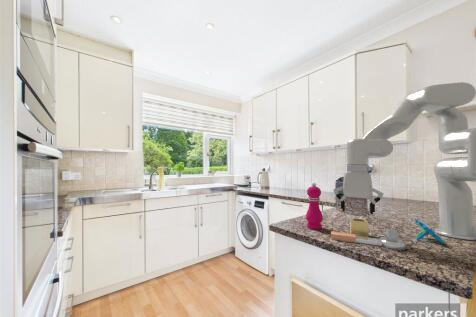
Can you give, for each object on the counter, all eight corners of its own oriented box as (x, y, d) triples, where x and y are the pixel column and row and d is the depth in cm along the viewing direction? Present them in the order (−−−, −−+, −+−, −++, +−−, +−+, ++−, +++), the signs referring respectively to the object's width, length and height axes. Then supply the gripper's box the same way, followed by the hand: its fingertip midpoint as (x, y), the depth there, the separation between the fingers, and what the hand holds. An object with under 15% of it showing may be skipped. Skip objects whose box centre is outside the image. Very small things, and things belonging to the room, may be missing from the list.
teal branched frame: (450, 243, 67) (420, 218, 72) (434, 253, 69) (406, 228, 74) (440, 238, 77) (414, 217, 82) (426, 248, 78) (402, 226, 83)
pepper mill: (311, 224, 95) (310, 182, 96) (326, 228, 89) (325, 183, 91) (302, 227, 90) (302, 182, 91) (317, 231, 85) (317, 183, 86)
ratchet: (401, 244, 71) (401, 228, 71) (408, 252, 64) (407, 234, 65) (331, 235, 80) (331, 221, 80) (331, 240, 74) (331, 225, 74)
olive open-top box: (366, 234, 81) (366, 219, 82) (368, 238, 76) (368, 222, 76) (350, 232, 84) (349, 217, 84) (351, 236, 79) (351, 220, 79)
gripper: (381, 170, 81) (381, 213, 80) (333, 169, 88) (333, 208, 87) (385, 170, 74) (385, 217, 73) (333, 168, 82) (333, 211, 81)
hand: (357, 212), depth 80 cm, fingers open, 9 cm apart
